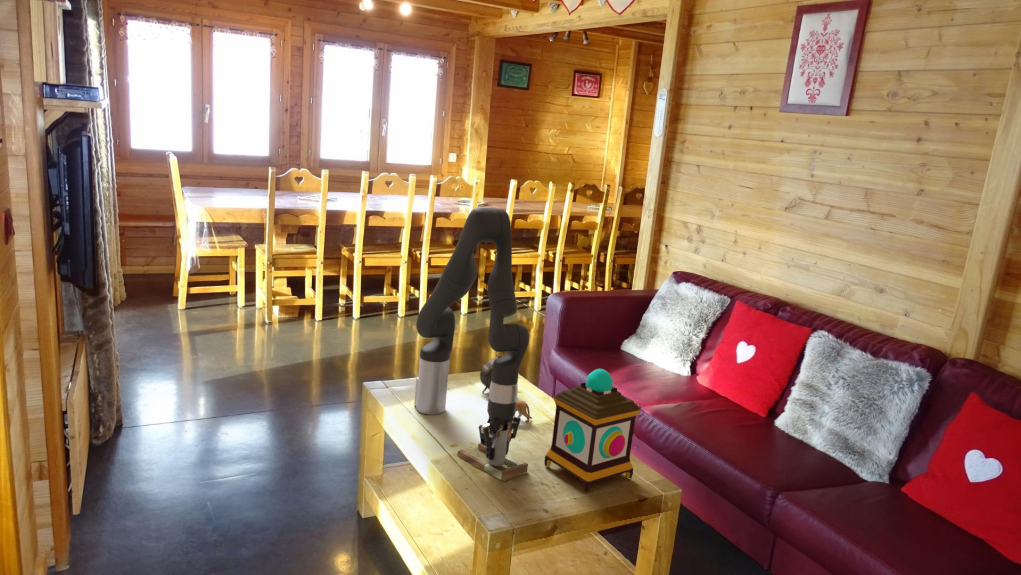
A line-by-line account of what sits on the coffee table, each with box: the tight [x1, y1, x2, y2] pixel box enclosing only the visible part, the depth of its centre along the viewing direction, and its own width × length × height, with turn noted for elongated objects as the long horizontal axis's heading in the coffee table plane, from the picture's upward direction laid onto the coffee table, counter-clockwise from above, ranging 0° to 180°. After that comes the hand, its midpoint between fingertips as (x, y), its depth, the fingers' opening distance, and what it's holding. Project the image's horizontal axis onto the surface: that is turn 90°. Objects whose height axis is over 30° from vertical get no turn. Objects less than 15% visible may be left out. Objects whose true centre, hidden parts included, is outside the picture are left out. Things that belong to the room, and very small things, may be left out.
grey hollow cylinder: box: [487, 428, 508, 467], centre depth 197 cm, size 4×4×10 cm
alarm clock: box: [479, 352, 505, 394], centre depth 250 cm, size 11×5×16 cm, turn 119°
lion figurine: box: [516, 400, 533, 424], centre depth 229 cm, size 15×5×9 cm, turn 113°
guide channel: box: [457, 442, 529, 482], centre depth 200 cm, size 18×9×2 cm, turn 46°
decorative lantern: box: [543, 368, 642, 494], centre depth 197 cm, size 20×20×30 cm
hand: (496, 456), depth 198 cm, fingers closed on grey hollow cylinder, 4 cm apart
